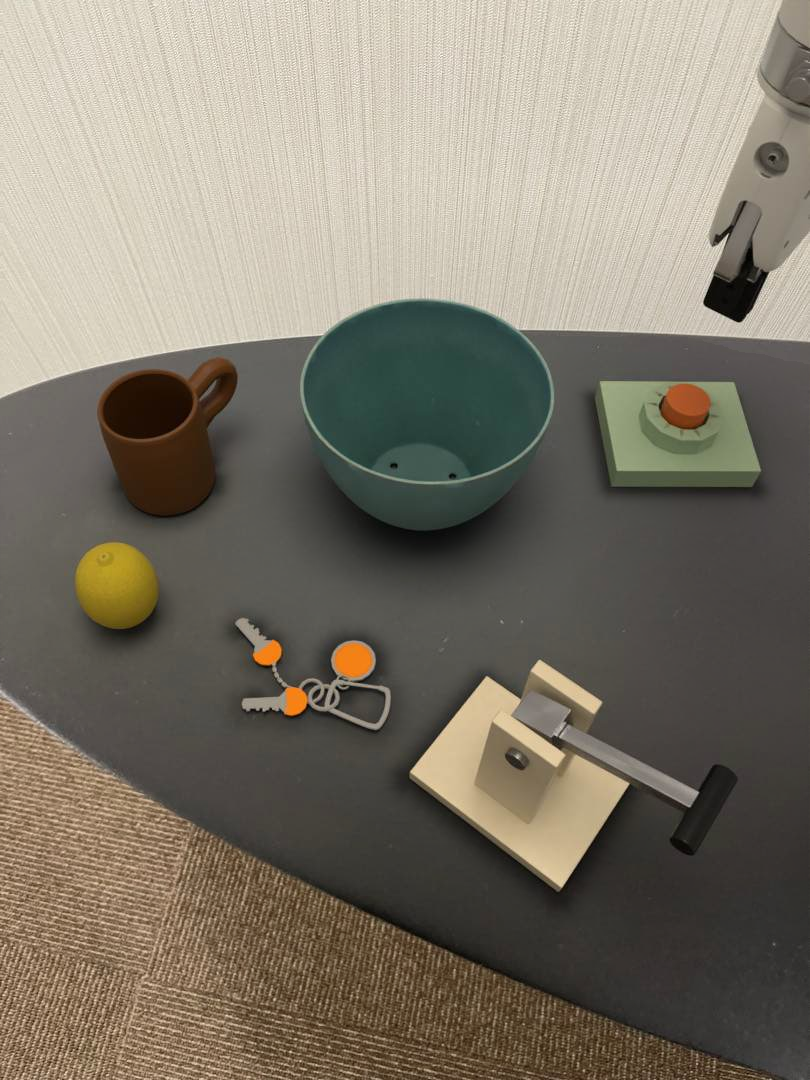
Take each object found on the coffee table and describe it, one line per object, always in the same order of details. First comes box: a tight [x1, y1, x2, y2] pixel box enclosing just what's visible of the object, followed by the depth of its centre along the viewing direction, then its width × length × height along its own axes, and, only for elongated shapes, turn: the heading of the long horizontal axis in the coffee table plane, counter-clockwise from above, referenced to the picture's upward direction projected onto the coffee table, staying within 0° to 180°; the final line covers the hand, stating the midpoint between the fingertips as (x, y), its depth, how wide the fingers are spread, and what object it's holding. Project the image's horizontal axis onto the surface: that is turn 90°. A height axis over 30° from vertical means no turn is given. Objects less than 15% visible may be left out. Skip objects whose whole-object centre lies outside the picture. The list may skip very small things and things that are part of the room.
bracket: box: [408, 659, 631, 893], centre depth 57 cm, size 12×9×12 cm
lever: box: [511, 689, 738, 857], centre depth 51 cm, size 12×5×2 cm, turn 52°
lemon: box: [74, 541, 160, 630], centre depth 64 cm, size 6×6×8 cm
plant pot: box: [299, 297, 555, 531], centre depth 70 cm, size 18×18×12 cm
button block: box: [594, 380, 762, 488], centre depth 77 cm, size 12×10×4 cm
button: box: [661, 383, 711, 429], centre depth 75 cm, size 4×4×2 cm
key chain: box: [234, 617, 392, 731], centre depth 65 cm, size 13×7×1 cm, turn 76°
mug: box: [96, 356, 239, 517], centre depth 72 cm, size 12×8×9 cm, turn 139°
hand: (726, 308), depth 67 cm, fingers closed
